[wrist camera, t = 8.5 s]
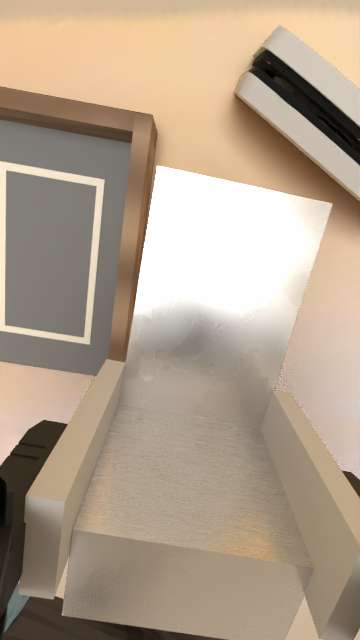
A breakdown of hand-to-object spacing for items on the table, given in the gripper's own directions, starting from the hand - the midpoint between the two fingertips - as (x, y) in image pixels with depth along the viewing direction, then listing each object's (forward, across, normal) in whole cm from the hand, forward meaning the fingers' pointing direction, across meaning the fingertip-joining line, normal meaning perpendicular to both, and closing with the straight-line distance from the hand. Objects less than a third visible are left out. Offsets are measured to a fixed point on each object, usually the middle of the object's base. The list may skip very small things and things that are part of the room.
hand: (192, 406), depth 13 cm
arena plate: (+17, -13, +2) cm, 21 cm away
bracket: (+2, 0, +2) cm, 4 cm away
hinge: (+17, +8, +15) cm, 25 cm away
